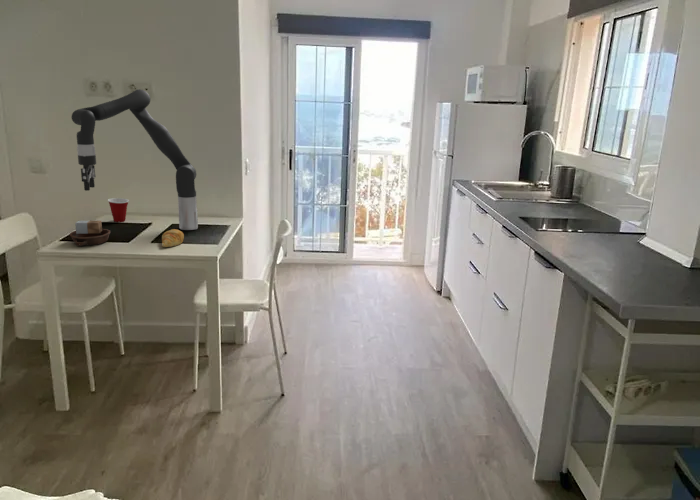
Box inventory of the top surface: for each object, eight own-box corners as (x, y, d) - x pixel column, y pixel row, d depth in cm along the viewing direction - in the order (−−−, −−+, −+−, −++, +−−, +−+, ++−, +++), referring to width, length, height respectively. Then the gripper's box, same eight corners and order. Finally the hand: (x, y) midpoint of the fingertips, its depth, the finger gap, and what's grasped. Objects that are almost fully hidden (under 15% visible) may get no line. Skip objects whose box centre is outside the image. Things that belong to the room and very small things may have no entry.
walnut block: (102, 230, 265) (101, 220, 263) (99, 233, 260) (98, 222, 259) (91, 230, 264) (90, 220, 263) (87, 233, 259) (86, 222, 258)
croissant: (170, 256, 256) (177, 242, 254) (150, 245, 256) (157, 231, 253) (186, 243, 277) (193, 230, 274) (168, 233, 276) (175, 220, 274)
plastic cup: (123, 223, 299) (121, 201, 296) (105, 222, 301) (103, 200, 298) (134, 219, 309) (133, 198, 306) (117, 218, 311) (115, 197, 308)
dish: (59, 247, 253) (58, 236, 251) (86, 235, 274) (85, 226, 273) (96, 249, 251) (95, 239, 250) (120, 238, 272) (119, 228, 271)
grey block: (90, 231, 264) (89, 220, 262) (87, 233, 259) (86, 223, 258) (79, 231, 263) (78, 220, 262) (76, 233, 258) (75, 223, 257)
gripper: (82, 152, 264) (85, 186, 268) (73, 155, 250) (76, 191, 254) (99, 152, 265) (101, 186, 269) (91, 156, 251) (94, 191, 256)
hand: (89, 188), depth 262 cm, fingers open, 8 cm apart
